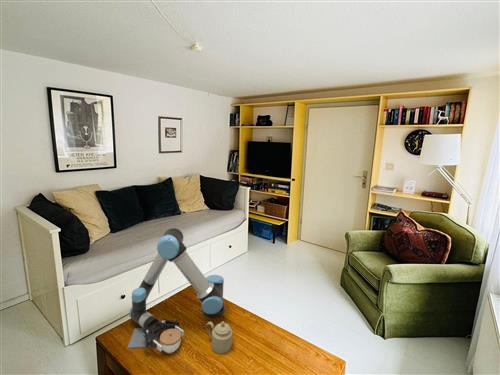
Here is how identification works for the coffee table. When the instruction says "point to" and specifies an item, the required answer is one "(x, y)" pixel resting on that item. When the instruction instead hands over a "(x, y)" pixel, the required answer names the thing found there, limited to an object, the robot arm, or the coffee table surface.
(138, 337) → the slate mat
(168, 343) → the lidded jar
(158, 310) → the coffee table surface
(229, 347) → the beige teapot
